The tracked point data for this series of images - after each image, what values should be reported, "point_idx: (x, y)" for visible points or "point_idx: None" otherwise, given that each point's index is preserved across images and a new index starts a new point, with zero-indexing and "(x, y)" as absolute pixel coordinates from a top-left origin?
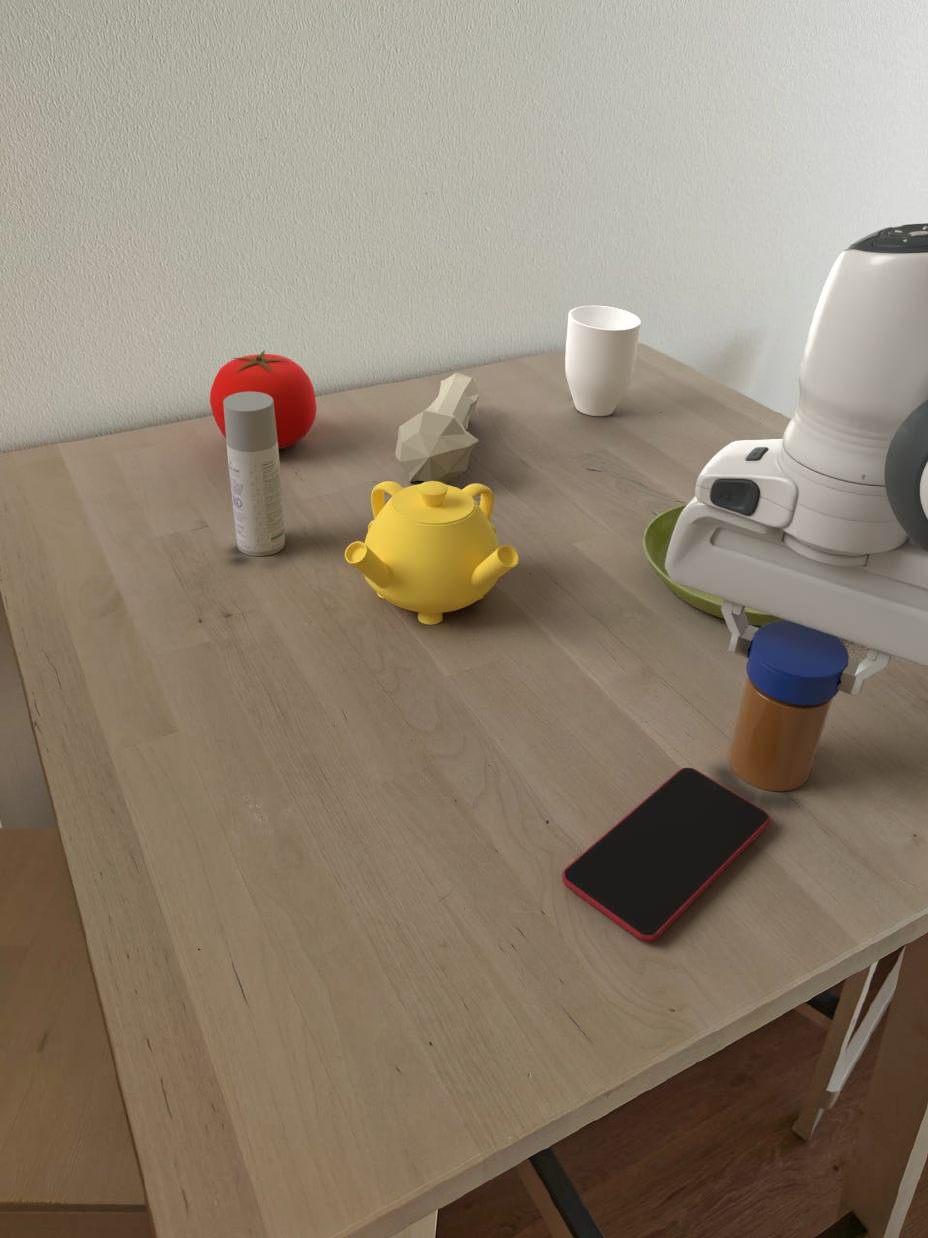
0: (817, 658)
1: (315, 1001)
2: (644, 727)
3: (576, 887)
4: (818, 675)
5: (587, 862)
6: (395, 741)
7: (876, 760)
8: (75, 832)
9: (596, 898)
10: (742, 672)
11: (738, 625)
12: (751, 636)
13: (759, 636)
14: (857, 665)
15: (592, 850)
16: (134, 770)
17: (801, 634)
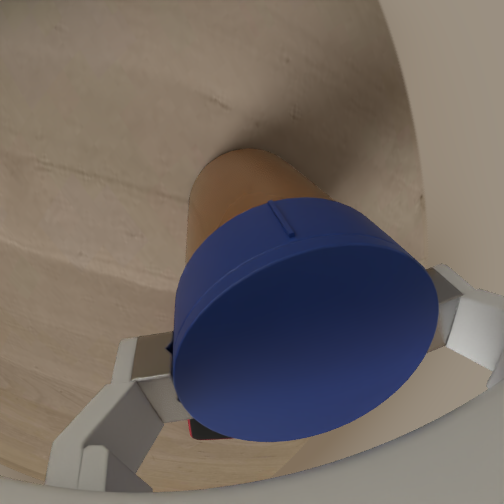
0: (370, 370)
1: (167, 489)
2: (86, 264)
3: (208, 439)
4: (379, 401)
5: (198, 428)
6: (14, 403)
7: (362, 94)
8: (37, 478)
9: (225, 437)
10: (107, 41)
11: (146, 442)
12: (181, 409)
13: (201, 408)
14: (453, 311)
15: (192, 421)
16: (6, 457)
17: (300, 325)
